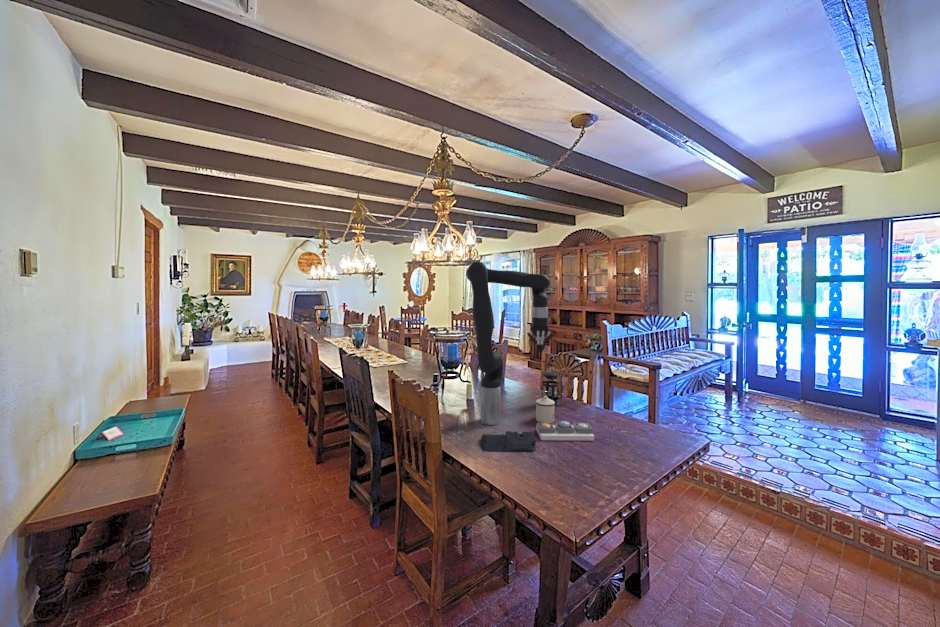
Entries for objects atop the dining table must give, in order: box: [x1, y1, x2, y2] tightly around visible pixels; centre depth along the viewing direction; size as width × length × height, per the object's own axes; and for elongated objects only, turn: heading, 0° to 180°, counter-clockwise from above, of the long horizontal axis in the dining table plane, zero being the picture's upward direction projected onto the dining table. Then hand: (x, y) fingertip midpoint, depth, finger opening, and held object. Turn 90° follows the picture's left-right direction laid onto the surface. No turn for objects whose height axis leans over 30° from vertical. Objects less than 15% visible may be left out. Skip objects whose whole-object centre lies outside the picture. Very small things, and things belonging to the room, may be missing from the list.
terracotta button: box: [540, 423, 551, 428], centre depth 161 cm, size 4×4×2 cm
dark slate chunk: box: [480, 431, 537, 453], centre depth 152 cm, size 15×22×5 cm
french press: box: [541, 361, 563, 408], centre depth 203 cm, size 12×9×23 cm
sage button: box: [578, 422, 588, 428], centre depth 161 cm, size 4×4×2 cm
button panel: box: [535, 422, 595, 442], centre depth 162 cm, size 22×12×4 cm, turn 90°
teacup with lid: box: [535, 395, 555, 424], centre depth 180 cm, size 12×9×12 cm
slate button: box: [558, 420, 571, 428], centre depth 161 cm, size 4×4×2 cm
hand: (539, 351), depth 182 cm, fingers closed
